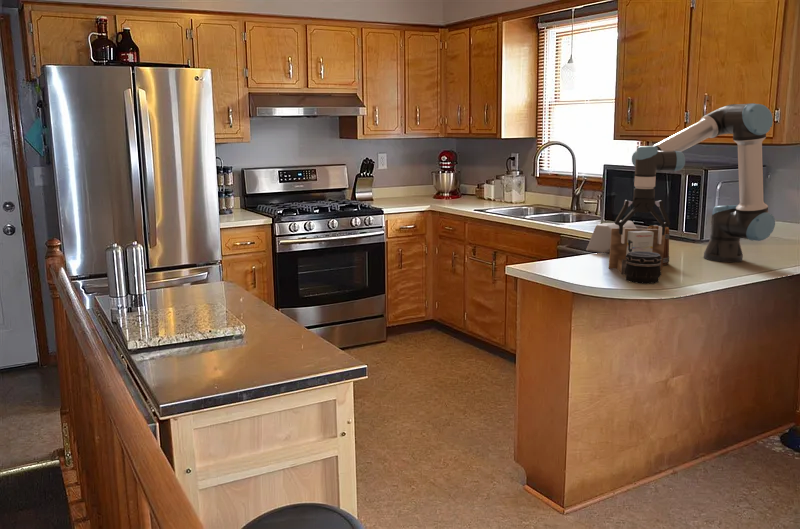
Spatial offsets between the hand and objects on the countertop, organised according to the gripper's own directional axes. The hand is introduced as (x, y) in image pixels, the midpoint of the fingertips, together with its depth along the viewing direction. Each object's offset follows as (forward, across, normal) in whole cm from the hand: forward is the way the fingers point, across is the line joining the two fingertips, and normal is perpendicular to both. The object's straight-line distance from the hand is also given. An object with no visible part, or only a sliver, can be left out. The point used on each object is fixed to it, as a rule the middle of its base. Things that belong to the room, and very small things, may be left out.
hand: (640, 243), depth 273 cm
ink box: (+7, 0, 0) cm, 7 cm away
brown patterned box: (+11, 0, 0) cm, 11 cm away
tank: (+12, 0, -49) cm, 51 cm away
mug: (+12, -10, -22) cm, 27 cm away
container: (+11, +2, +16) cm, 20 cm away
